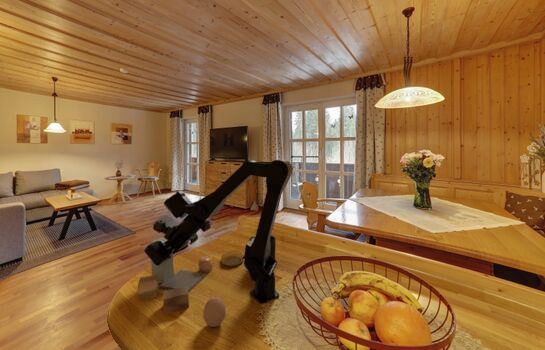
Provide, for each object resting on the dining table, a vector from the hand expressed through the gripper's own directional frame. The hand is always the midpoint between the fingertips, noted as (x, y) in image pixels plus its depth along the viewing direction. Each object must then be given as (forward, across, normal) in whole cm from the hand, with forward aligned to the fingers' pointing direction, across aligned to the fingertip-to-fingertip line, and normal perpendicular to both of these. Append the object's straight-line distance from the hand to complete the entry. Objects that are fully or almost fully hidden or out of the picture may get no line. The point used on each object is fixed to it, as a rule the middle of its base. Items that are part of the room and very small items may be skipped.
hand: (159, 259), depth 76 cm
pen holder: (-16, -17, +26) cm, 35 cm away
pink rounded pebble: (-3, -9, +13) cm, 16 cm away
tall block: (+4, 0, +5) cm, 7 cm away
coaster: (-1, -1, +11) cm, 11 cm away
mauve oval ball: (-15, +14, +24) cm, 32 cm away
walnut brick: (-5, +10, +15) cm, 19 cm away
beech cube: (+3, +8, +7) cm, 11 cm away
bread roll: (-7, -18, +17) cm, 26 cm away
